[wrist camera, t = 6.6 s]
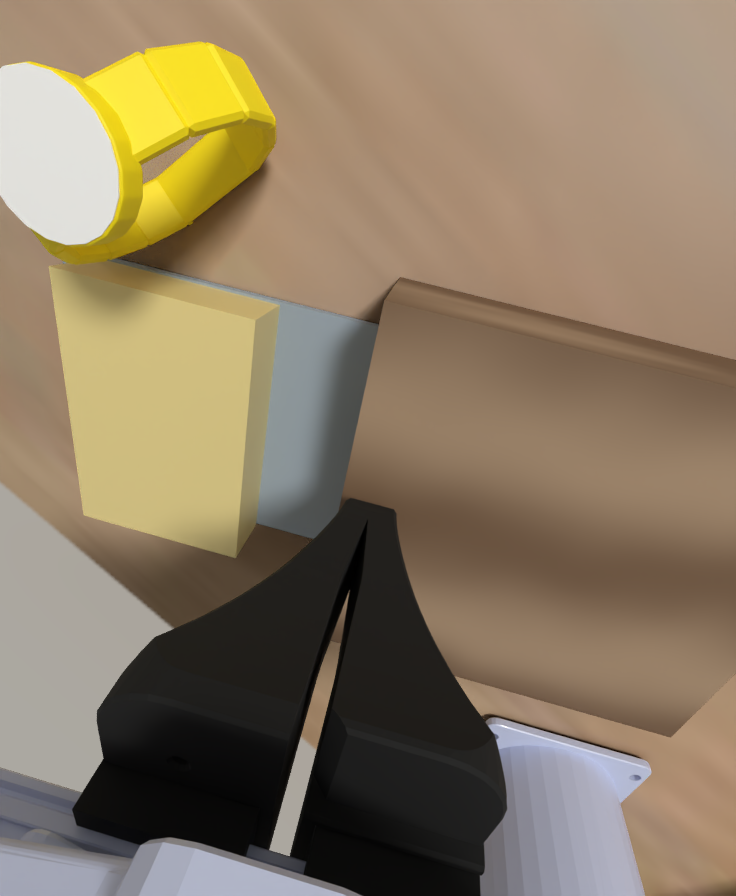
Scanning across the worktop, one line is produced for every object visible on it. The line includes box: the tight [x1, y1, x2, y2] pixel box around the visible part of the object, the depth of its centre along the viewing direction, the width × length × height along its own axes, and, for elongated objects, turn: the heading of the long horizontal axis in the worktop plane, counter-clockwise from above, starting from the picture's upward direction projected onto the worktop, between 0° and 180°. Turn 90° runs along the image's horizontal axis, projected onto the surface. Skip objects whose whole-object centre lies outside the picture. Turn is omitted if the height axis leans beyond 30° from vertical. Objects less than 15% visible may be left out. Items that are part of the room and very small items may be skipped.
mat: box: [63, 258, 379, 539], centre depth 17 cm, size 9×10×1 cm
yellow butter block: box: [49, 261, 280, 558], centre depth 16 cm, size 9×6×2 cm, turn 168°
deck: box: [330, 277, 736, 737], centre depth 15 cm, size 12×13×4 cm
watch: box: [0, 42, 276, 265], centre depth 11 cm, size 6×3×6 cm, turn 121°
